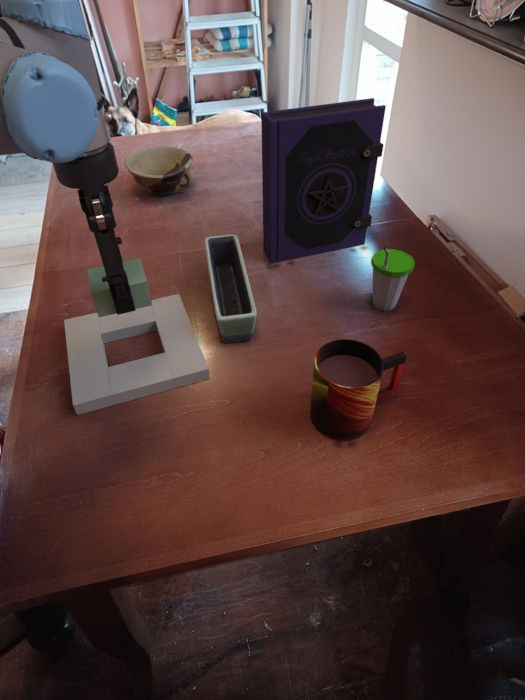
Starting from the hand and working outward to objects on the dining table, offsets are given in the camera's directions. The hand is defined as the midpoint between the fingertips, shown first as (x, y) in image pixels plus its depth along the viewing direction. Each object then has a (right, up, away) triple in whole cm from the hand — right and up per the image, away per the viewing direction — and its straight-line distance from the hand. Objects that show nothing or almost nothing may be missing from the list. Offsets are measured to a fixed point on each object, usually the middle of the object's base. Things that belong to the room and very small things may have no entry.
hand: (122, 297), depth 74 cm
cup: (+46, +1, +22) cm, 51 cm away
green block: (0, 0, 0) cm, 0 cm away
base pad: (-1, -9, +12) cm, 15 cm away
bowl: (-6, +35, +58) cm, 68 cm away
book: (+34, +16, +37) cm, 52 cm away
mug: (+35, -17, +3) cm, 40 cm away
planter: (+15, +2, +23) cm, 28 cm away
